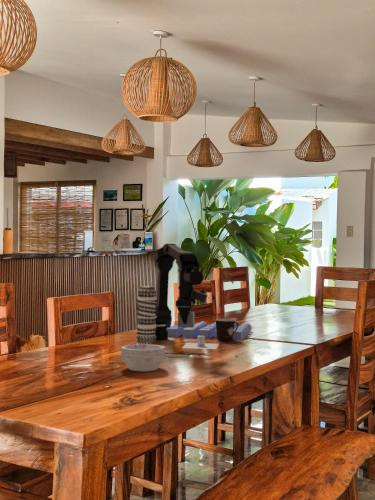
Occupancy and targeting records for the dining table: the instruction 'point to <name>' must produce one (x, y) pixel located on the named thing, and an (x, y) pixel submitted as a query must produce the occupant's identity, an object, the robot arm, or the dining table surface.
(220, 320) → the coffee mug
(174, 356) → the mat
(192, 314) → the gray cube
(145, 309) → the leaning tower model
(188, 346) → the post stand
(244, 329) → the blocks
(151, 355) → the paper bowls
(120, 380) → the dining table surface
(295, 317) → the dining table surface
